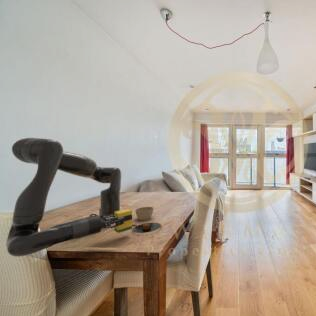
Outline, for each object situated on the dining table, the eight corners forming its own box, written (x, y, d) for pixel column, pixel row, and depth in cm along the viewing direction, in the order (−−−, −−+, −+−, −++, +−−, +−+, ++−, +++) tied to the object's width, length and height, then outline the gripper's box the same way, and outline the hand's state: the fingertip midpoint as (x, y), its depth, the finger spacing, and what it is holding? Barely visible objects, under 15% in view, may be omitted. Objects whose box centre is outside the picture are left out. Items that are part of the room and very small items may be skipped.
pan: (115, 231, 95) (115, 228, 95) (137, 222, 108) (137, 219, 108) (148, 236, 89) (148, 233, 89) (166, 226, 103) (166, 223, 103)
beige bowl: (146, 223, 106) (146, 211, 106) (131, 222, 108) (131, 210, 108) (156, 218, 116) (156, 207, 116) (143, 217, 118) (143, 206, 118)
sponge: (114, 230, 85) (114, 211, 85) (128, 226, 90) (128, 208, 90) (118, 233, 82) (118, 213, 82) (132, 228, 87) (132, 210, 87)
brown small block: (142, 229, 95) (142, 225, 95) (145, 227, 98) (145, 223, 98) (147, 229, 95) (147, 225, 95) (150, 227, 98) (150, 223, 98)
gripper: (90, 221, 70) (136, 210, 84) (79, 214, 78) (123, 205, 92) (91, 240, 70) (136, 226, 84) (80, 231, 79) (123, 220, 92)
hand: (129, 215), depth 88 cm, fingers closed on sponge, 4 cm apart
